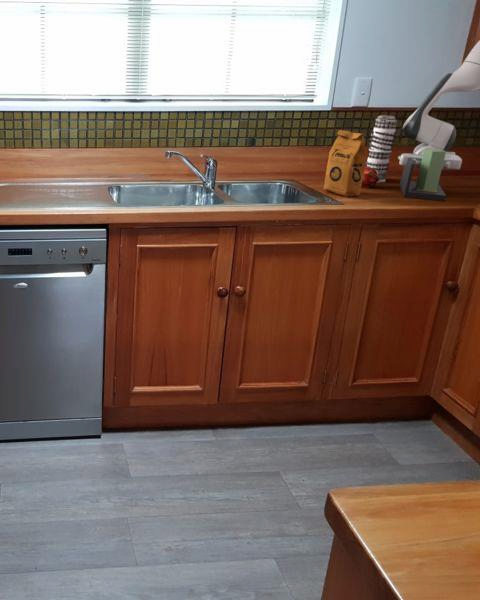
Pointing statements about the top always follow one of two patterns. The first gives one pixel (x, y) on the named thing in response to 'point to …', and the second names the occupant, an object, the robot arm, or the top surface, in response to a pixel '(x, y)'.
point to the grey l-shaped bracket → (410, 189)
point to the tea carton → (430, 169)
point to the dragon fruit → (369, 177)
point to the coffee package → (346, 164)
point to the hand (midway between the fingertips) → (431, 164)
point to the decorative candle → (381, 145)
